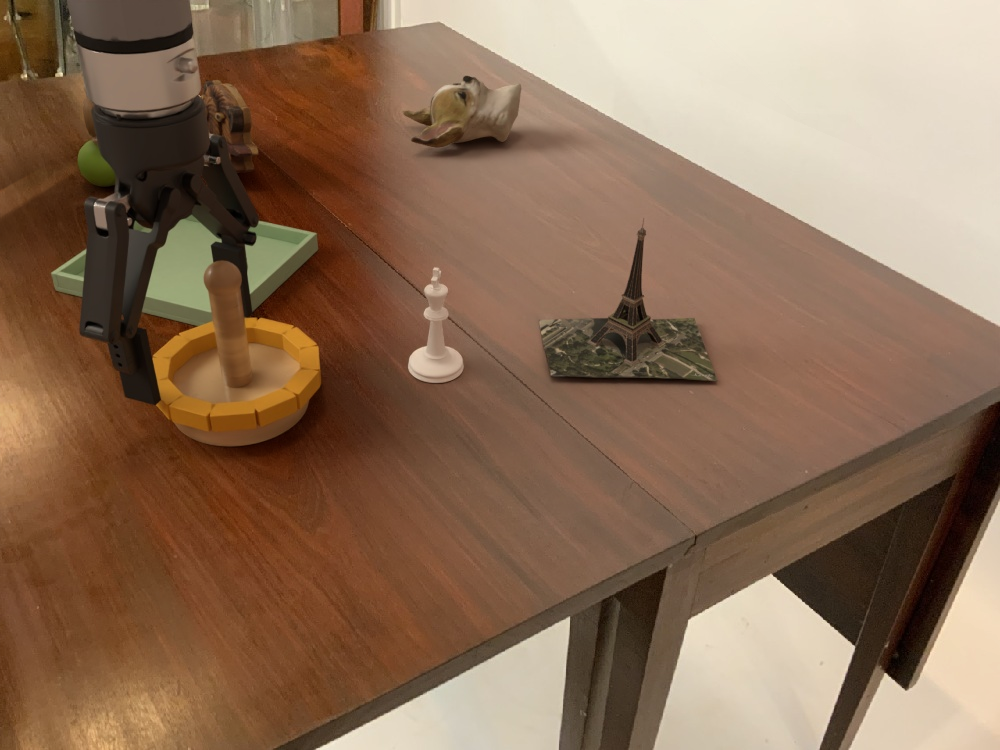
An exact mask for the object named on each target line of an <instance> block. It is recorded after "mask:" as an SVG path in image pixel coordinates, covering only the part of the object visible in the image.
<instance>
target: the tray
mask: <svg viewBox="0 0 1000 750" xmlns="http://www.w3.org/2000/svg"><path fill="white" fill-rule="evenodd" d="M134 230H137V231H142V232H146V233H150V232H151V231H152V229H149V228H145V227H143V226H141V225H140V224H138V223H137V222H136V221H135V223H134ZM248 231H251V232H255V233H256V236H257V239H256V242H255V244H254V245H253V246H249V245H245V250H246V257H247V265H248V270H247V275H248V283H249V290H250V298H251V305H252V313H253V312H254V311H255V310H256V309H257V308H259V306H261V305H262V303H264V302H265V301H266V300H267V299H268V298H269V297H270V296H271V295H272V294H273V293H274V292H276V291H277V289H279V287H281V286H282V285H283V284H284V283H285V282H286V281H287V280H288V279H289V278H290V277H291V276H292V275H294V273H295V272H297V271H298V269H300V268H301V267H302V266H303V265H304V264H305V263H306V262H307V261H309V259H310V258H311V257H312V256H314V255H315V254H316V252H318V251H319V246H318V245H319V244H318V243H319V242H318V233H316V232H313V231H309V230H304V229H299V228H294V227H290V226H286V225H281V224H276V223H271V222H268V221H262V220H259V223H258V225H257V227H255V228H253V227H250V229H249V230H248ZM215 241H216V242H221V243H222V240H221V239H218V238H217V237H216V236H214V235H213V234H212V233H211V232H210V231H209V230H208V229H207V228H206V227H205V226H203V225H202V224H201V223H200V222H199V221H198V220H197V219H196V218H195V217H194V216H192V215H190V216H189V217H188V218H185V219H182V220H180V221H179V222H178V223H177V224H176V226H175V227H174V228H172V229H171V230H170V231H169V232H168V236H167V240H166V243H165V245H164V246H163V247H161V248H159V249H158V251H157V254H156V258H155V262H154V266H153V270H152V274H151V278H150V281H149V285H148V289H147V293H146V297H145V301H144V305H143V309H142V313H143V314H146V315H147V314H148V315H150V316H151V315H152V316H157V317H159V318H164V319H167V320H172V321H176V322H180V323H183V324H188V325H192V326H194V327H198V326H201V325H203V324H206V323H209V322H212V321H213V319H212V312H211V306H210V300H209V294H208V290H207V288H206V287H205V284H204V273H205V270H206V269H207V267H208V266H209V265H210V264H212V263H213V257H212V251H211V245H212V244H213V243H214V242H215ZM85 260H86V248H85V249H84V250H82V251H80V252H79V253H78V254H76V255H75V256H73V257H72V258H71V259H70V260H68V261H66V262H65V263H63V264H62V265H60V266H58V268H56V269H55V270H53V271H51V272H50V275H51V279H52V282H53V286H54V290H55V291H56V292H58V293H59V292H60V293H62V294H63V293H64V294H67V295H72V296H76V297H79V298H82V293H83V282H84V271H85ZM244 318H247V317H244Z"/></svg>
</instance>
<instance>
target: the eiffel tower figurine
mask: <svg viewBox="0 0 1000 750" xmlns="http://www.w3.org/2000/svg"><path fill="white" fill-rule="evenodd" d="M644 224H645V217H643V218H642V225H641V227H640V228H639V230H637V233H636V236H637V240H636V244H635V245H636V246H635V249H634V250H635V251H634V255H633V259H632V263H631V267H630V271H629V276H628V280H627V283H626V287H625V290H624V292H623V293H622V294H621V299H620V301H619V304H618V306H617V307H616V309H615V311H614V312H613V313H611V314H610V315H608V317H590V318H589V317H588V318H587V317H585V318H559V319H558V318H557V319H556V318H555V319H538V323H539V329H540V334H541V339H542V345H543V349H544V351H545V355H546V358H547V363H548V369H549V373H550V377H573V378H575V377H577V378H642V379H643V378H644V379H645V378H647V379H675V380H676V379H679V380H693V381H712V382H717V381H718V379H717V376H716V373H715V370H714V367H713V366H712V365H713V364H712V362H711V360H710V357H709V355H708V351H707V348H706V346H705V343H704V340H703V338H702V335H701V332H700V329H699V327H698V323H697V322H696V319H695V317H684V318H653V319H652V316H651V315H649V314H647V311H646V307H645V302H644V297H645V296H644V294H643V290H642V289H643V288H642V286H643V284H642V282H643V279H642V278H643V277H642V276H643V261H644V260H643V257H644V246H645V245H644V244H645V236H647V230H646V229H644V228H645V227H644Z"/></svg>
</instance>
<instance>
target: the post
mask: <svg viewBox="0 0 1000 750" xmlns="http://www.w3.org/2000/svg"><path fill="white" fill-rule="evenodd" d="M241 282H242V277H241V273H240V271H239V269H238V268H237V267H236V266H235V265H234V264H233V263H231V262H228V261H223V260H222V261H216V262H214V263H212V264H210V265H209V266H208V267H207V269H206V270H205V273H204V284H205V287H206V288H207V290H208V294H209V300H210V306H211V312H212V319H213V325H214V331H215V337H216V344H217V347H216V348H213V349H210V350H208V351H205V352H202V353H200V354H197V355H194V356H192V357H191V358H190V359H189V360H188V361H187V362H186V363H185V364H184V365H183V366H182V367H180V368H179V369H178V370H177V371H176V372H175V373H174V377H173V384H174V385H175V386H176V387H177V388H178V389H179V391H180V392H181V393H182V394H183V395H185V396H189V397H192V398H196V399H200V400H203V401H207V402H211V403H214V404H215V403H228V402H240V401H252V400H255V399H257V398H259V397H262V396H264V395H267V394H269V393H271V392H274V391H276V390H279V389H281V388H283V387H284V386H285V385H286V384H287V382H288V381H289V380H290V379H291V378H292V377H293V376H294V375H295V374H296V372H297V371H298V370H299V369H300V363H299V362H298V361H296V360H295V359H294V358H293V357H292V356H291V355H290V354H288V353H287V352H286V351H285V350H284V349H280V348H276V347H272V346H268V345H264V344H260V343H256V342H254V343H248V340H247V333H246V325H245V318H244V311H243V304H242V296H241V289H240V286H241ZM309 403H310V399H309V400H308V402H307V403H306V404H305V405H304V406H303V407H302V409H301V410H300V409H297V410H298V411H297V412H296V413H293V414H291V415H289V416H286V417H284V418H282V419H280V420H277V421H275V422H273V423H270V424H268V425H266V426H264V427H260V426H259V425H258V424H257V429H249V430H237V431H225V432H213V431H212V429H211V430H210V432H207V431H203V430H200V429H196V428H193V427H189V426H186V425H182V424H178V423H175V422H173V424H174V425H175V427H176V428H177V430H179V431H180V432H181V433H182V434H183V435H185V436H186V437H188V438H190V439H192V440H193V441H196V442H199V443H201V444H206V445H211V446H217V447H242V446H249V445H254V444H259V443H262V442H265V441H269V440H271V439H273V438H276V437H278V436H280V435H282V434H284V433H286V432H287V431H289V430H290V429H291V428H292V427H294V426H295V425H297V423H298V422H300V420H302V418H303V416H304V415H305V414H306V411H307V409H308V407H309Z"/></svg>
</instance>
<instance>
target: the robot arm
mask: <svg viewBox="0 0 1000 750" xmlns="http://www.w3.org/2000/svg"><path fill="white" fill-rule="evenodd" d="M66 4H67V8H68V12H69V16H70V21H71V26H72V28H73V35H74V40H75V45H76V46H75V47H76V50H77V55H78V59H79V64H80V70H81V76H82V75H83V76H82V79H83V85H84V86H85V90H86V93H85V95H86V94H87V96H88V99H89V100H90V101H91V102H92V103H94V106H93V107H92V110H91V114H92V119H93V124H94V128H95V133H96V137H97V142H98V147H99V151H100V154H101V156H102V157H103V158H104V160H105V161H106V162H107V163H108V164H109V165H110V166H111V168H112V169H113V171H114V172H115V176H116V184H115V185H114V193H112V194H110V195H107V196H106V197H104V198H99V197H95V196H88V197H87V198H86V199H85V201H84V204H83V206H84V207H83V209H84V210H83V211H84V215H85V220H86V221H85V222H86V227H87V238H86V239H87V240H86V247H85V249H86V260H85V271H84V282H83V293H82V297H81V304H80V316H79V326H78V331H79V335H80V336H81V337H83V338H87V339H91V340H94V341H99V342H101V343H106V344H107V348H108V352H109V355H110V360H111V364H112V367H113V368H114V370H115V371H116V372H118V373H119V377H120V381H121V386H122V391H123V394H124V397H125V398H127V399H130V400H134V401H137V402H140V403H145V404H149V405H152V406H156V404H157V403H158V402H159V401H161V397H160V392H159V387H158V383H157V378H156V373H155V368H154V364H153V359H152V358H153V354H152V350H151V345H150V341H149V336H148V331H147V329H145V328H142V327H139V323H140V320H141V316H142V313H143V312H142V309H143V305H144V301H145V297H146V293H147V289H148V285H149V281H150V278H151V274H152V270H153V266H154V262H155V258H156V254H157V251H158V249H159V248H161V247H163V246H164V245H165V243H166V240H167V236H168V232H169V231H170V230H171V229H172V228H174V227H175V226H176V224H177V223H178V222H179V221H180V220H182V219H185V218H188V217H189V216H190V215H192V216H194V217H195V218H196V219H197V220H198V221H199V222H200V223H201V224H202V225H203V226H205V227H206V228H207V229H208V230H209V231H210V232H211V233H212V234H213V235H214V236H216V237H217V238H218V239H221V240H222V243H221V242H216V241H215V242H214V243H213V244H212V245H211V251H212V257H213V263H214V262H216V261H222V260H223V261H228V262H231V263H233V264H234V265H235V266H236V267H237V268H238V269H239V271H240V273H241V277H242V282H241V286H240V289H241V296H242V304H243V311H244V317H247V318H250V317H251V316H252V315H253V312H252V305H251V298H250V290H249V283H248V275H247V270H248V265H247V257H246V250H245V245H249V246H253V245H254V244H255V242H256V239H257V236H256V233H255V232H251V231H248V230H249V229H250V227H253V228H255V227H257V225H258V223H259V221H260V217H259V214H258V211H257V210H256V208H255V206H254V203H253V202H252V200H251V198H250V197H249V195H248V192H247V190H246V188H245V186H244V184H243V182H242V180H241V178H240V177H239V173H237V172H236V170H235V168H234V167H233V165H232V163H231V161H230V157H229V151H228V146H227V141H226V138H225V137H224V136H219V135H214V134H209V130H208V123H207V116H206V110H205V103H204V101H203V99H202V98H201V96H200V92H201V91H202V89H203V86H202V81H201V74H200V67H199V62H198V55H197V49H196V42H195V35H194V27H193V16H192V8H191V0H66ZM135 221H136V222H137V223H138V224H140V225H141V226H143V227H145V228H149V229H152V231H151V232H150V233H146V232H142V231H137V230H134V223H135Z"/></svg>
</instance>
